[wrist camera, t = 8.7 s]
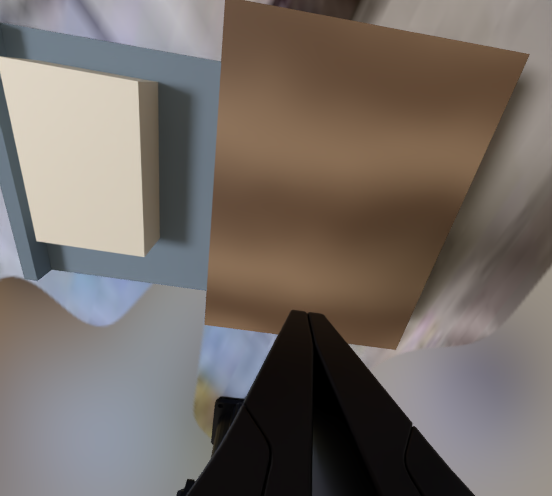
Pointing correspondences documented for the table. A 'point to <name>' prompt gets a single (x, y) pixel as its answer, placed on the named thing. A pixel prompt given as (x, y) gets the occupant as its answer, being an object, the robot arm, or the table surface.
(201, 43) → the table surface
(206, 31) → the table surface
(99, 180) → the cream rectangular block
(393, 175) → the brown box
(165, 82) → the gray lipped tray
